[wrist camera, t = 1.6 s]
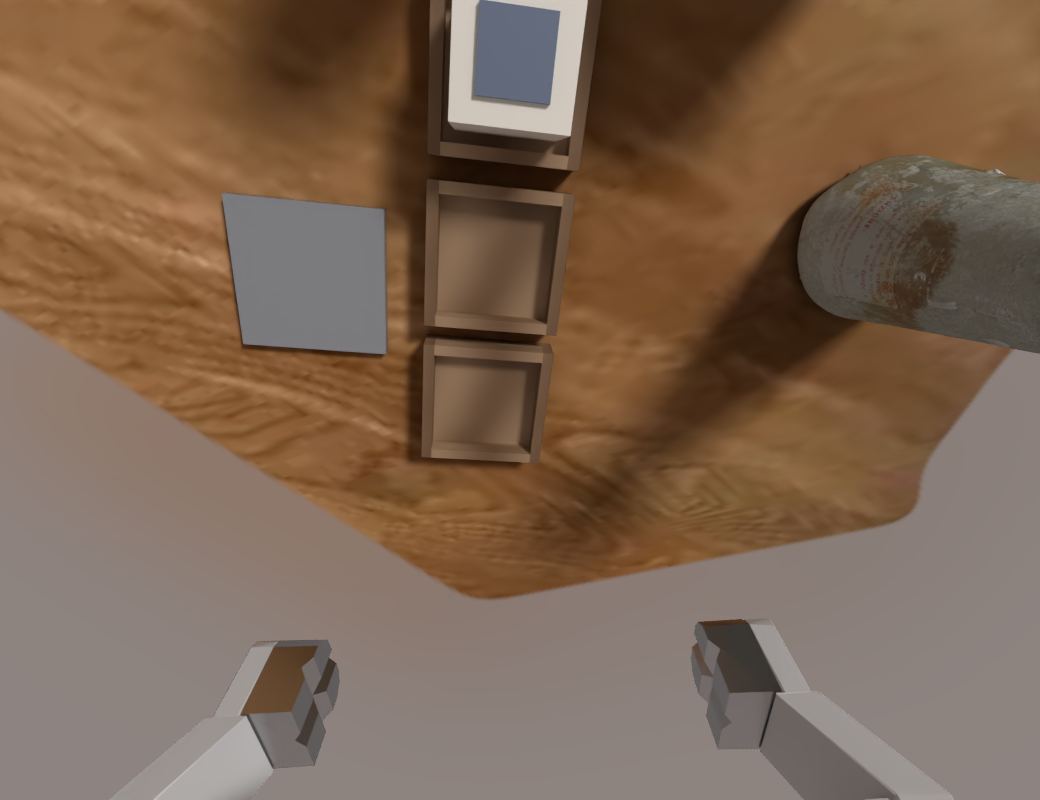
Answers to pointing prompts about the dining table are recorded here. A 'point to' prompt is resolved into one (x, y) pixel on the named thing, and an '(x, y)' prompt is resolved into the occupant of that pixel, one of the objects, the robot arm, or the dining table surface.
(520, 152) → the tray
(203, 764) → the robot arm
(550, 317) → the tray
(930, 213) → the bottle
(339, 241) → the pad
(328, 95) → the dining table surface
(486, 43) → the white cube
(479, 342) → the tray
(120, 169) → the dining table surface
